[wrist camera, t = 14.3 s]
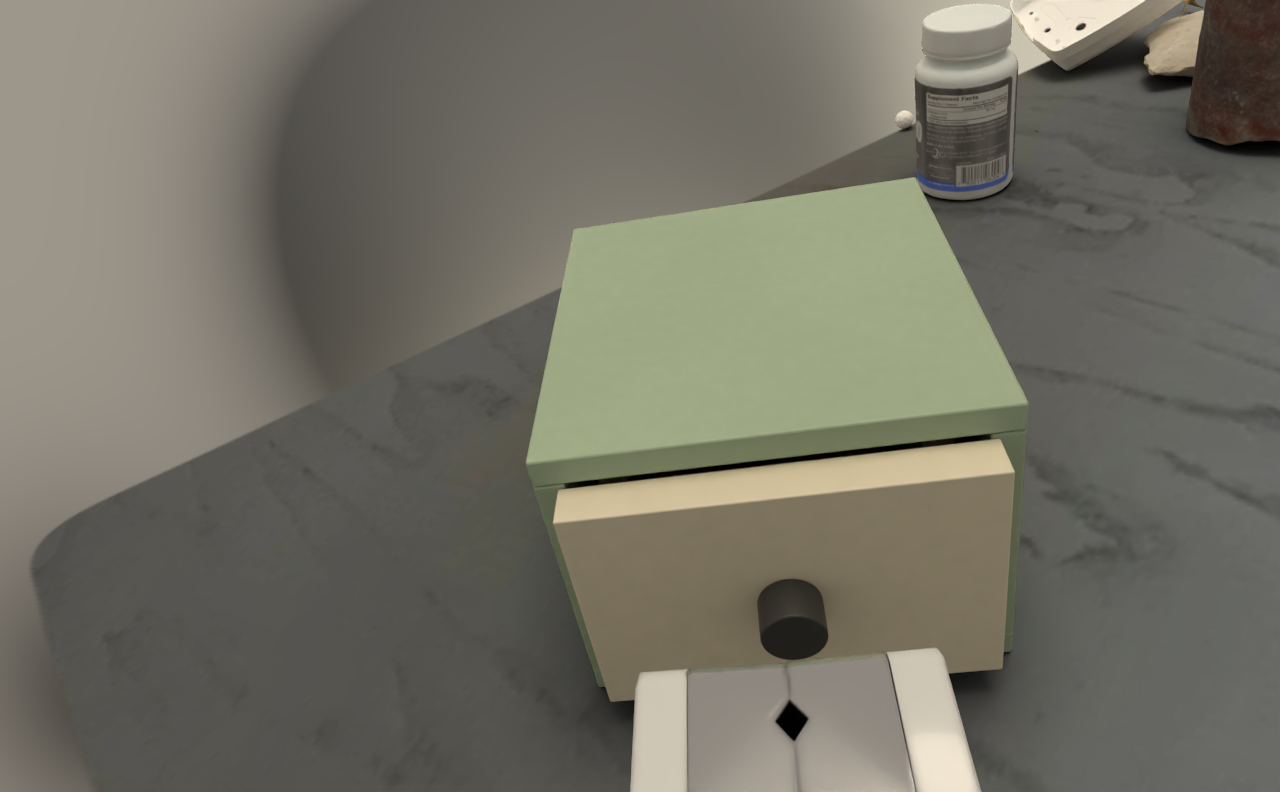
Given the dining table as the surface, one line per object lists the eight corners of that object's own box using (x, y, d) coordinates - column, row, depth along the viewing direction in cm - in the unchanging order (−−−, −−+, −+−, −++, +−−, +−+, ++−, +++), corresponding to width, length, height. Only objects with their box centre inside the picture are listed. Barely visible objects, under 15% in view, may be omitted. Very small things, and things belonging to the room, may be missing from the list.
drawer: (1016, 709, 24) (1032, 509, 20) (606, 741, 25) (545, 560, 21) (914, 405, 34) (911, 234, 30) (628, 440, 35) (590, 281, 31)
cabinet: (1012, 652, 26) (1030, 402, 21) (598, 688, 27) (524, 463, 23) (918, 386, 36) (915, 175, 31) (620, 423, 38) (572, 228, 33)
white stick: (1038, 134, 53) (1031, 155, 53) (901, 109, 57) (894, 129, 57) (1037, 128, 52) (1029, 149, 52) (897, 103, 56) (891, 123, 56)
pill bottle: (933, 160, 52) (933, 1, 47) (1023, 166, 49) (1033, -2, 45) (903, 198, 49) (899, 33, 44) (997, 206, 46) (1003, 31, 42)
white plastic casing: (1203, -36, 54) (1209, 2, 56) (1139, -88, 58) (1146, -50, 60) (1052, 58, 57) (1063, 91, 59) (1001, 3, 61) (1013, 35, 63)
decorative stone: (1342, 34, 55) (1347, -20, 54) (1229, 91, 50) (1231, 33, 49) (1199, 41, 62) (1200, -7, 61) (1086, 92, 57) (1085, 40, 56)
